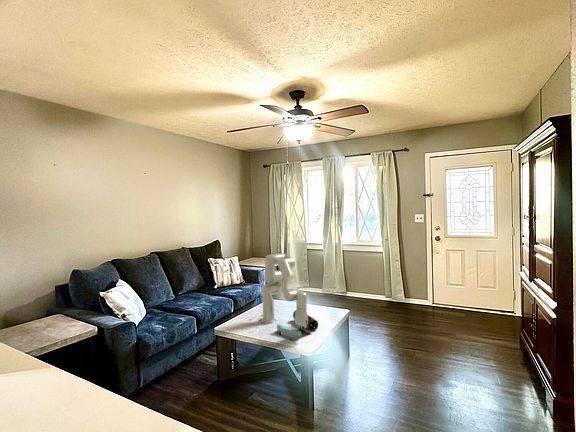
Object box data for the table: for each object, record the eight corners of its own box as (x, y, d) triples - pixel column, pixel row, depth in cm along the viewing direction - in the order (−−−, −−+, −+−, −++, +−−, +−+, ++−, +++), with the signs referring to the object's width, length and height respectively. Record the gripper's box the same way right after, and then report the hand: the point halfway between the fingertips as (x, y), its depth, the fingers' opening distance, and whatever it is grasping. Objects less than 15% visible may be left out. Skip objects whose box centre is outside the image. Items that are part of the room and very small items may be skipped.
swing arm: (276, 331, 238) (276, 325, 238) (279, 330, 241) (279, 324, 240) (299, 339, 225) (299, 332, 224) (302, 337, 227) (302, 330, 227)
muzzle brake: (307, 333, 238) (307, 320, 238) (292, 321, 264) (291, 309, 264) (318, 331, 242) (318, 318, 242) (302, 320, 268) (302, 308, 268)
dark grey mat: (273, 333, 239) (273, 331, 239) (293, 326, 252) (293, 325, 252) (291, 342, 222) (291, 340, 222) (312, 335, 235) (312, 333, 235)
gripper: (291, 307, 233) (291, 332, 233) (304, 313, 221) (304, 338, 222) (298, 305, 237) (298, 329, 238) (312, 310, 226) (312, 335, 226)
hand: (301, 333), depth 230 cm, fingers closed
